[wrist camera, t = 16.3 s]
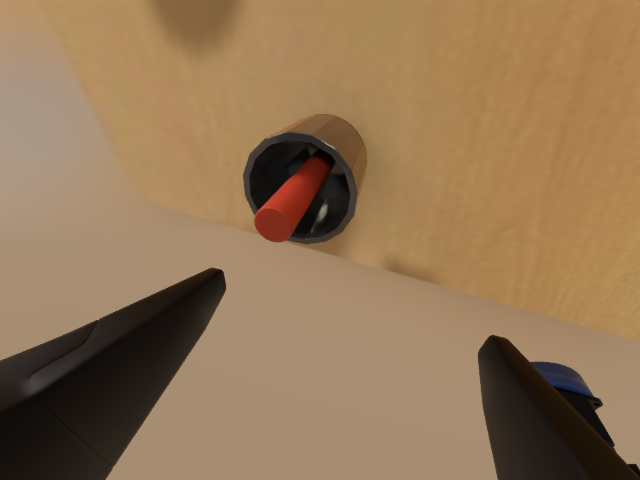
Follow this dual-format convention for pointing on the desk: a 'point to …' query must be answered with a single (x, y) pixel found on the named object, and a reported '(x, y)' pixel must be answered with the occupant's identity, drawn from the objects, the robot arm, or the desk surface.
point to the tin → (291, 153)
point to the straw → (293, 198)
